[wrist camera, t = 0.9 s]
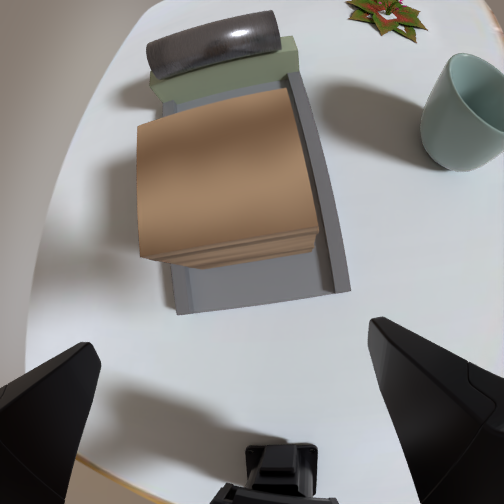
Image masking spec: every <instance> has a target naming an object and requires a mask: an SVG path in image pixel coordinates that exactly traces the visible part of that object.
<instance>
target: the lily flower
mask: <svg viewBox="0 0 504 504" xmlns="http://www.w3.org/2000/svg"><path fill="white" fill-rule="evenodd" d="M400 1H403V0H400ZM400 1H398V0H352V1H346V2H348V3H351V4H353V5H356V6H358V7H360V8H361V9H358V10H356V11H355V12H354V13H353V14H352V17H350V18H349V19H354V20H360V21H367V22H372V23H375V24H376V26H377V28H378V29H379V30H380V33H381V36H382V35H384V34H385V33H387V32H388V31H391V30H395V31H397V32H399V33H401V34H402V35H404V36H406V37H408V38H409V39H412V40H413V41H414V42H416V37H415V36H416V33H415V30H414V29H413V27H412V26H417V27H420V28H423V29H426V28H425V26H424V25H423V24H422V23H421V21H420V20H419V19H418V18H417V16H418V14H419V13H418V12H421V11H417V10H415V9H412V8H411V7H408V6H404V5H401V4H402V2H400ZM382 10H386V15H390V14H391V13H393V14H394V15H395V16H396V17H397V19H391V20H386V19H385V18H384V17H382V16H381V15H380V14H379V13H378V12H377V11H382ZM370 13H372V14H374V15H373V16H372V17H373V18H368V17H367V16H368V15H369V14H370ZM398 23H401V24H403V25H404V28H405V29H404V30H405V31H406V33H405V32H404V31H403V30H401V29H399V28H397V27H398V26H399V24H398ZM426 30H427V29H426ZM416 43H417V42H416Z"/></svg>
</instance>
